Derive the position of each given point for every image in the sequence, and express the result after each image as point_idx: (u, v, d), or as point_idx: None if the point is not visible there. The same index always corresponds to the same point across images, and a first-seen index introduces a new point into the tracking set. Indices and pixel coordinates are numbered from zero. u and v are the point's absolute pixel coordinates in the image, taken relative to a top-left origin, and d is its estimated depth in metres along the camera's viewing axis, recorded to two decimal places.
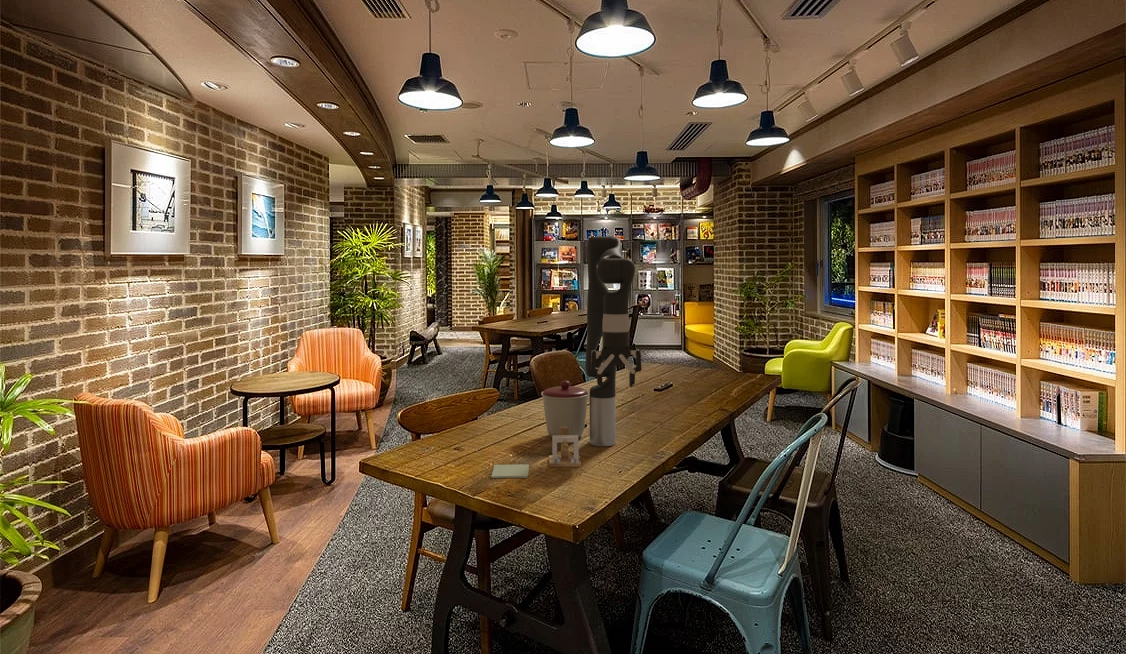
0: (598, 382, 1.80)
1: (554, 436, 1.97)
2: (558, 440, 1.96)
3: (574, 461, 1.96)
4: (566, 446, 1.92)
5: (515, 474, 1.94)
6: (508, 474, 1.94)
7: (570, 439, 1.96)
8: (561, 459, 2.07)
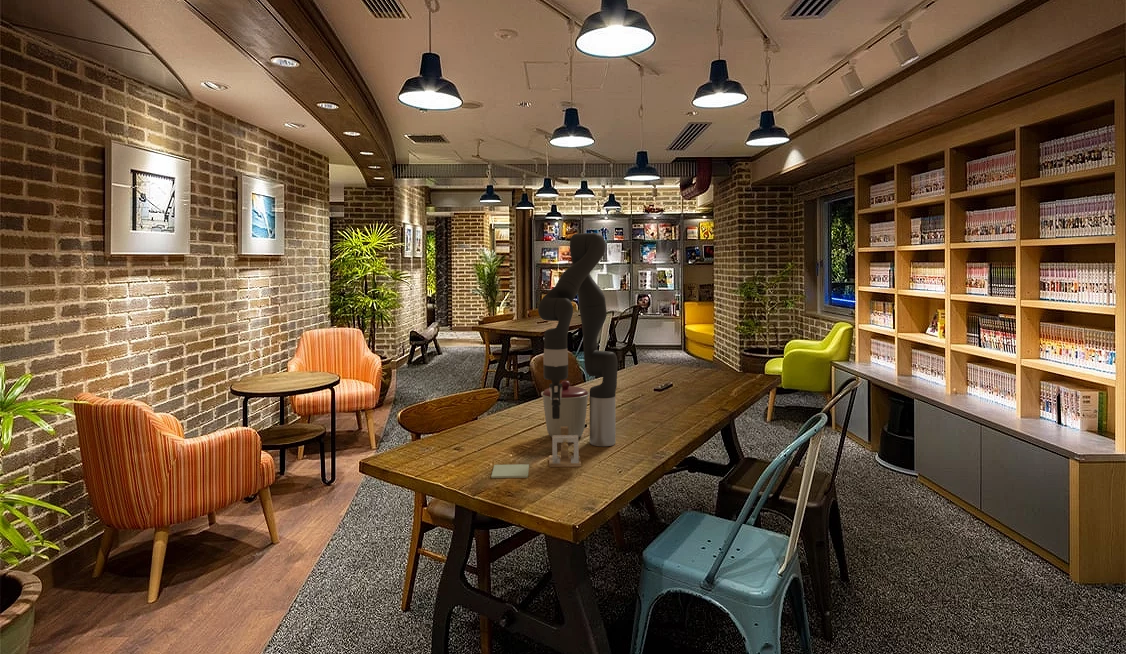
0: (558, 414, 1.91)
1: (554, 436, 1.97)
2: (558, 440, 1.96)
3: (574, 461, 1.96)
4: (566, 446, 1.92)
5: (515, 474, 1.94)
6: (508, 474, 1.94)
7: (570, 439, 1.96)
8: (561, 459, 2.07)
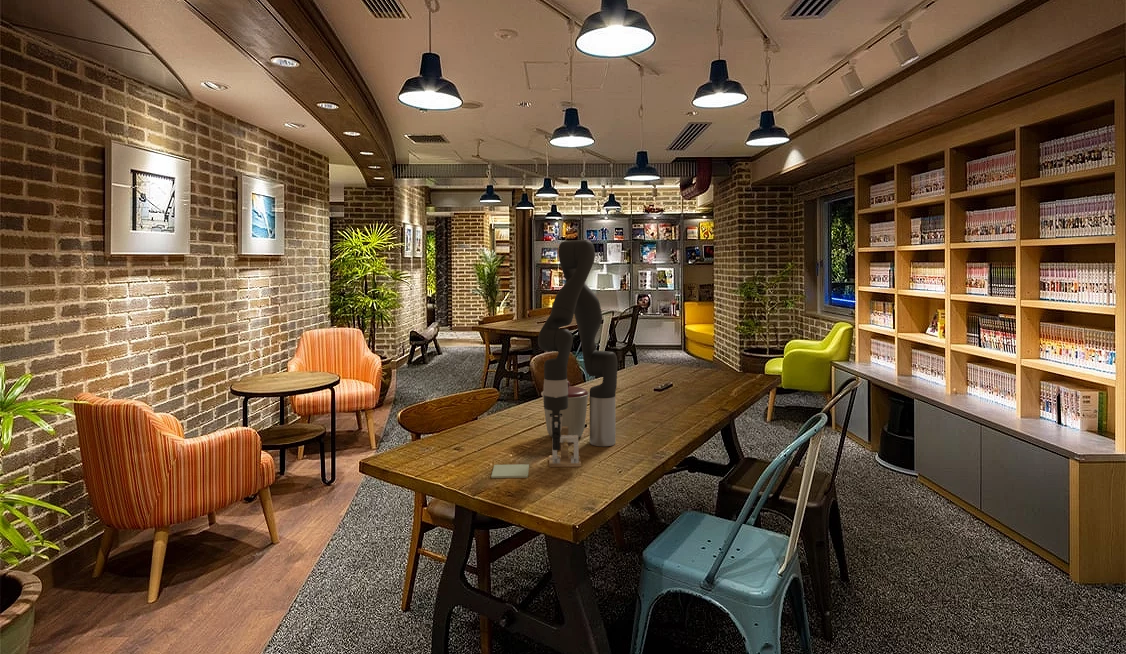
0: (558, 446, 1.95)
1: None
2: None
3: (574, 461, 1.96)
4: (566, 446, 1.92)
5: (515, 474, 1.94)
6: (508, 474, 1.94)
7: (570, 439, 1.96)
8: (561, 459, 2.07)
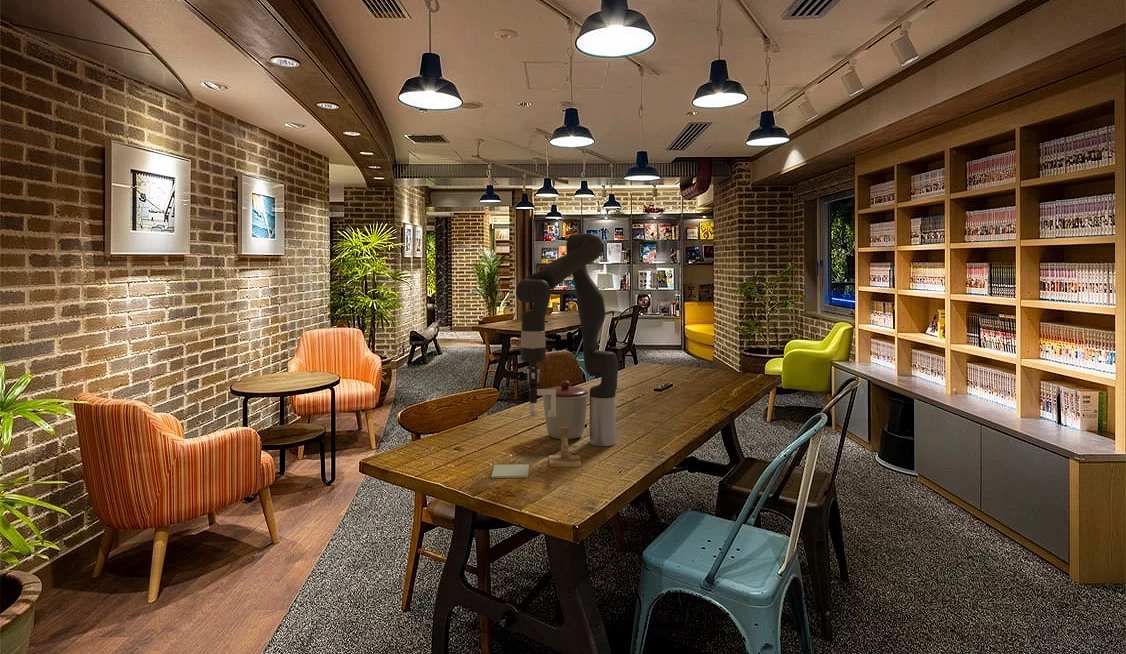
0: None
1: None
2: None
3: (551, 414, 1.94)
4: (566, 446, 1.92)
5: (515, 474, 1.94)
6: (508, 474, 1.94)
7: (548, 392, 1.94)
8: (561, 459, 2.07)
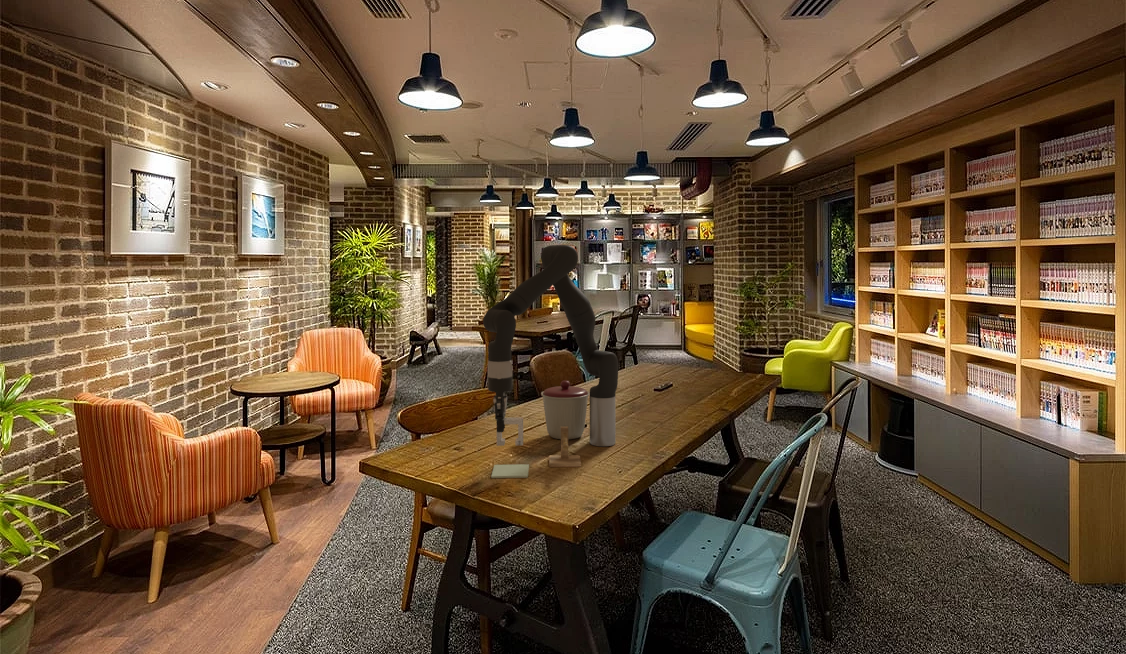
0: (502, 428, 1.94)
1: None
2: None
3: (518, 443, 1.96)
4: (566, 446, 1.92)
5: (515, 474, 1.94)
6: (508, 474, 1.94)
7: (515, 421, 1.95)
8: (561, 459, 2.07)
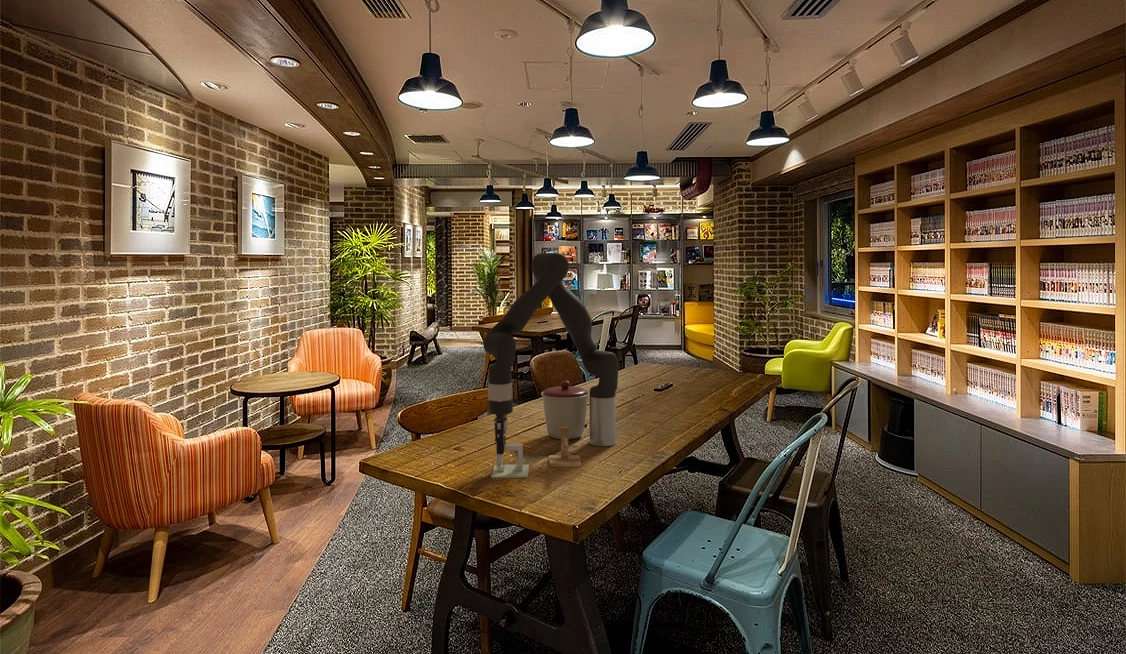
0: (502, 450, 1.93)
1: None
2: None
3: (518, 469, 1.96)
4: (566, 446, 1.92)
5: (515, 474, 1.94)
6: (508, 474, 1.94)
7: (515, 448, 1.96)
8: (561, 459, 2.07)
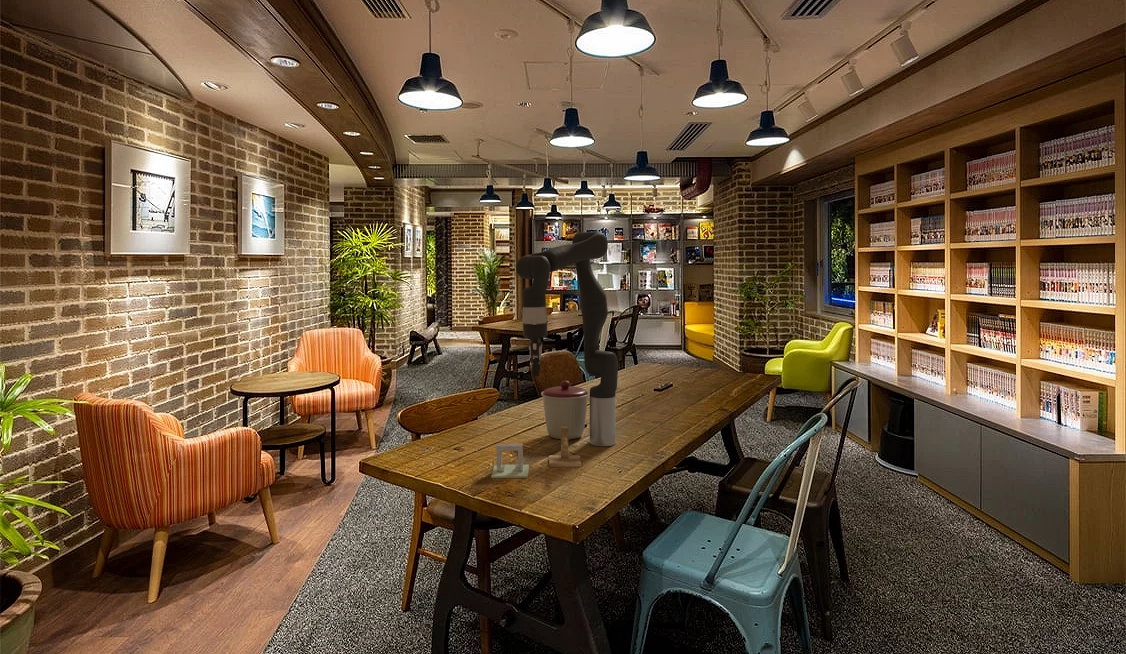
0: (537, 372, 1.92)
1: (498, 444, 1.97)
2: (502, 448, 1.96)
3: (518, 469, 1.96)
4: (566, 446, 1.92)
5: (515, 474, 1.94)
6: (508, 474, 1.94)
7: (515, 448, 1.96)
8: (561, 459, 2.07)
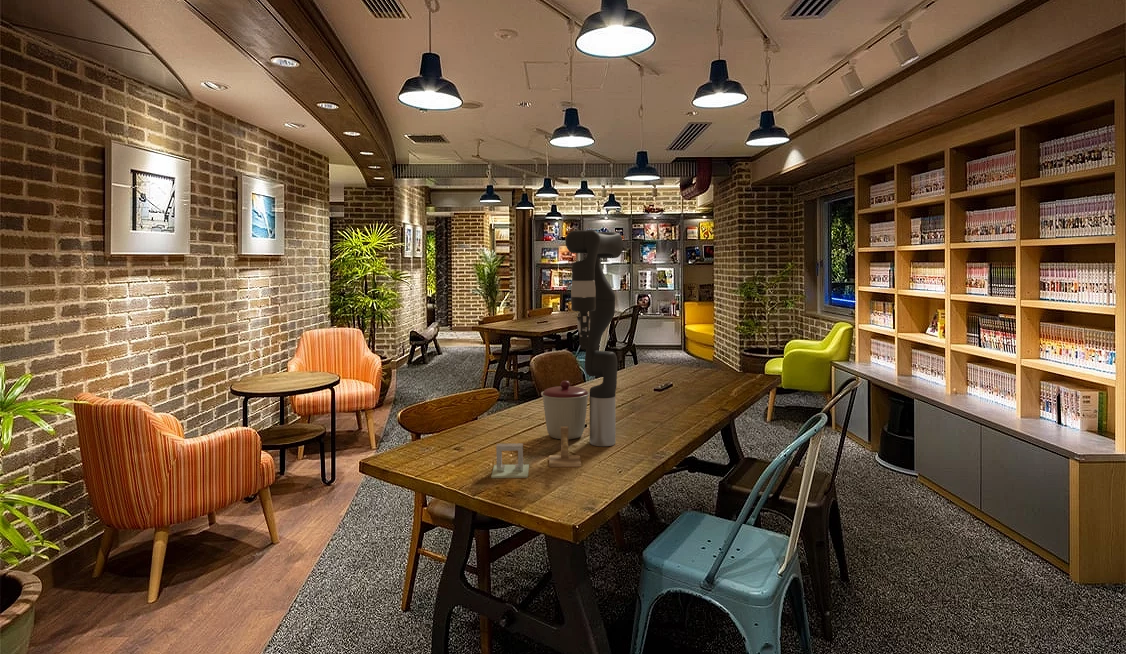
0: (586, 345, 1.94)
1: (498, 444, 1.97)
2: (502, 448, 1.96)
3: (518, 469, 1.96)
4: (566, 446, 1.92)
5: (515, 474, 1.94)
6: (508, 474, 1.94)
7: (515, 448, 1.96)
8: (561, 459, 2.07)
